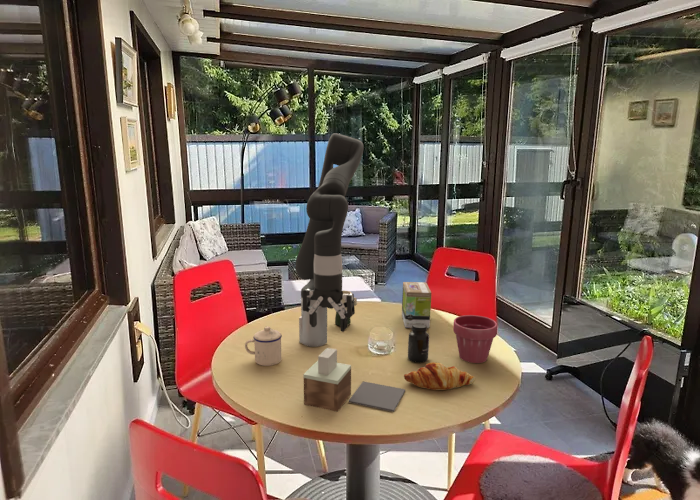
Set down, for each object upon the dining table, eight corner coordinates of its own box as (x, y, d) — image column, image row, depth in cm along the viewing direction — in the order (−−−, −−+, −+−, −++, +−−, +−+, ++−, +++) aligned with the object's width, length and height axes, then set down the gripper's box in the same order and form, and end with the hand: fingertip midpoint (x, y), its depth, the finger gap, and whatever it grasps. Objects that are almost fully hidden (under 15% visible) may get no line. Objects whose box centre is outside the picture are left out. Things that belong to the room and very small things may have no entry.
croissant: (470, 390, 148) (469, 363, 150) (480, 390, 138) (479, 361, 140) (402, 389, 147) (401, 362, 149) (407, 389, 137) (406, 361, 139)
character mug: (328, 327, 188) (328, 295, 185) (329, 320, 195) (329, 290, 192) (356, 328, 187) (356, 296, 185) (356, 321, 194) (357, 290, 192)
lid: (303, 381, 130) (303, 357, 129) (318, 365, 140) (318, 343, 138) (337, 387, 127) (337, 363, 125) (351, 371, 136) (351, 348, 135)
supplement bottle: (427, 364, 157) (429, 329, 154) (406, 362, 158) (407, 328, 155) (428, 355, 163) (430, 322, 161) (408, 353, 165) (409, 320, 162)
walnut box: (303, 404, 132) (303, 377, 130) (319, 387, 141) (318, 362, 139) (337, 411, 128) (337, 384, 127) (350, 394, 138) (351, 368, 136)
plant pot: (451, 347, 170) (453, 312, 167) (492, 350, 168) (495, 315, 165) (452, 365, 156) (454, 327, 154) (496, 369, 154) (499, 331, 151)
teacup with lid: (283, 354, 163) (282, 321, 161) (280, 366, 155) (280, 332, 152) (247, 354, 163) (246, 322, 160) (243, 366, 154) (241, 332, 152)
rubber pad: (348, 402, 133) (348, 400, 133) (362, 383, 144) (363, 381, 144) (393, 412, 129) (394, 409, 128) (405, 391, 140) (405, 389, 139)
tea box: (430, 328, 187) (432, 292, 184) (404, 328, 188) (405, 292, 184) (425, 315, 202) (426, 281, 199) (401, 315, 202) (402, 281, 199)
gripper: (297, 271, 126) (298, 329, 129) (348, 276, 121) (348, 337, 124) (309, 264, 133) (310, 320, 136) (358, 269, 128) (357, 327, 131)
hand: (328, 328), depth 130 cm, fingers open, 8 cm apart
